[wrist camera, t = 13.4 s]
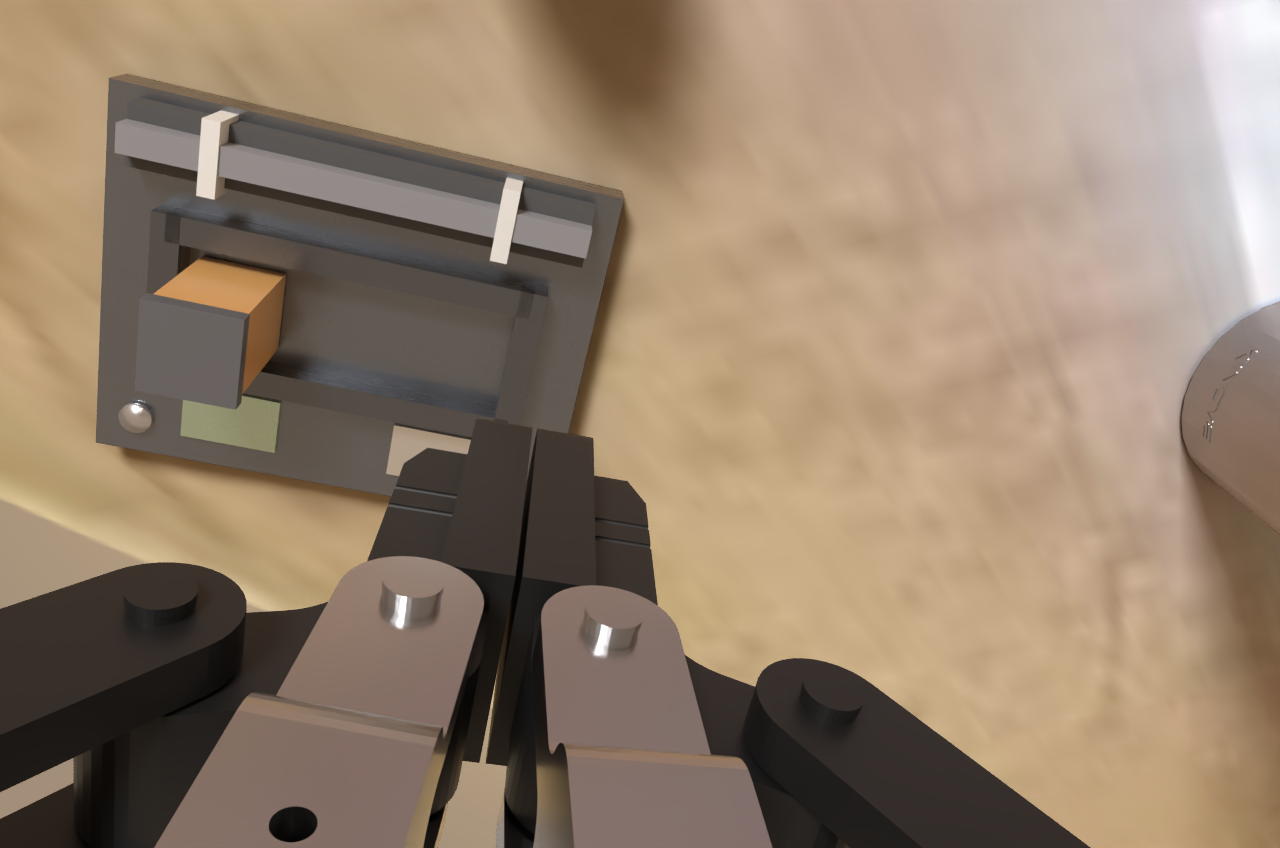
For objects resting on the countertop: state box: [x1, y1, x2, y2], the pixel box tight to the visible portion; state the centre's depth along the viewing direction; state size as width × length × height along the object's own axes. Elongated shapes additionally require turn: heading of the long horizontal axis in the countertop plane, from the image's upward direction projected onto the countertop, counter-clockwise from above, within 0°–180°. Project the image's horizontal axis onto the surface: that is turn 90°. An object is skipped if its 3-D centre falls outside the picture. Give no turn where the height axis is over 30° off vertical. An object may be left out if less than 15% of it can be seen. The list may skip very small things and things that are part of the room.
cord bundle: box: [114, 97, 595, 268], centre depth 35 cm, size 16×3×2 cm, turn 76°
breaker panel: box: [96, 74, 624, 496], centre depth 38 cm, size 18×14×3 cm
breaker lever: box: [135, 256, 286, 410], centre depth 35 cm, size 3×3×6 cm
